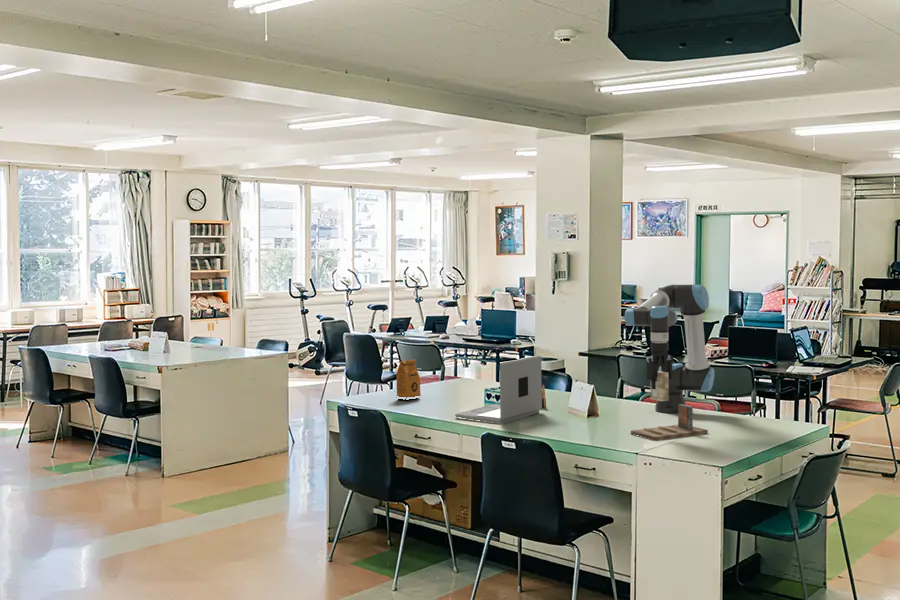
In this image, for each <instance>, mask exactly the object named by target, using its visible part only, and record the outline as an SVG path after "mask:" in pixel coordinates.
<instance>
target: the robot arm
mask: <svg viewBox="0 0 900 600" xmlns="http://www.w3.org/2000/svg"><path fill="white" fill-rule="evenodd" d="M709 301H710V296H709V293H708V290H707V288H706V286H704V285H701V284H695V283H694V284H669V285H666V286H665V285H664V286H662V287H660V288H657V290H655V291H653V292H652V293H651V295H650V297H649V298H647V300H645V301H644V302H643V303H641V304H640V305H638V307H636V308H628V309H626V310H625V312H624V323H625V324H626V325H627V326H632V327H650V351H651V354H650V356H648V357H645V361H646V379H647V381H649V382H650V389H651V388H652V396H654V397H658V382H656V379H657V373H658V371H661V372H667V373H668V391H669V401H657V400H656V404H655V407H654V408H655V409H654V410H655V411H656V412H658V413H666V414H678V405H680V404H683V405H687V404H686V401H685V398H684V391H687V392H688V391H689V392H700V393H701V392H707V393H708V392H710V391H711V390H712V388H713V386H714V380H715V369H714V368H712V367H710V366H711V365H710V362H709V361H707V356H706V342H705V331H704V317H703V315H704V314H705V313H706V310H708V309H709V306H710V302H709ZM675 310H680V315H682V316H683V319H684V320H683V321H684V331H685V342H686V343H685V345H686V354H687V362H686V363H685V364H683V363H680V362H679V363H677V362H676V363H673V361H674V356H673V355H669V352H668V351H669V350H670V349H669V347H670V345H669V341H670V340H669V337H670V335H669V327H672V326H673V325H675V324H676V323H677V322H678V314H677V312H676V311H675Z"/></svg>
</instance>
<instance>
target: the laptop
mask: <svg viewBox="0 0 900 600" xmlns="http://www.w3.org/2000/svg"><path fill="white" fill-rule="evenodd" d="M542 387H543V383H542V356H541V355H535V356H529V357H526V358H525V357H524V358H520V359H516V360H509V361H505V362H501V363H499V404H498V403H494V404H490V405H486V406H482V407H478V408H475V409H471V410H466V411H463V412H460V413H456V414H454V415H455V416H456V417H461V418H466V419H473V420H480V421H486V422H493V423H492V424H494V423H503V424H506V423H510V422H513V421H516V420H520V419H524V418H527V417H530V416H533V415H536V413H537V414H539V413H540V410H541V409H543V408H542ZM456 417H455V418H456ZM505 422H506V423H505Z"/></svg>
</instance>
